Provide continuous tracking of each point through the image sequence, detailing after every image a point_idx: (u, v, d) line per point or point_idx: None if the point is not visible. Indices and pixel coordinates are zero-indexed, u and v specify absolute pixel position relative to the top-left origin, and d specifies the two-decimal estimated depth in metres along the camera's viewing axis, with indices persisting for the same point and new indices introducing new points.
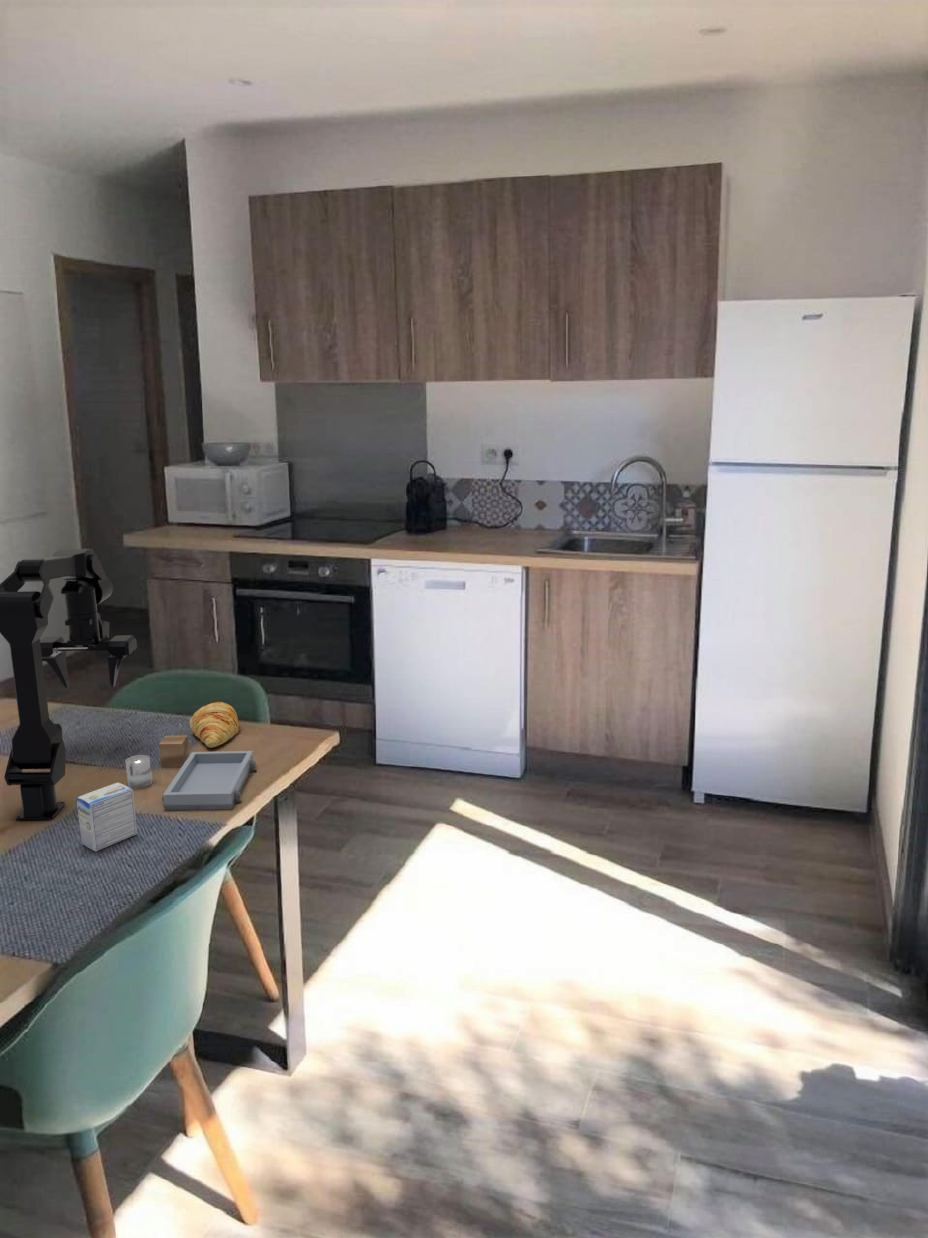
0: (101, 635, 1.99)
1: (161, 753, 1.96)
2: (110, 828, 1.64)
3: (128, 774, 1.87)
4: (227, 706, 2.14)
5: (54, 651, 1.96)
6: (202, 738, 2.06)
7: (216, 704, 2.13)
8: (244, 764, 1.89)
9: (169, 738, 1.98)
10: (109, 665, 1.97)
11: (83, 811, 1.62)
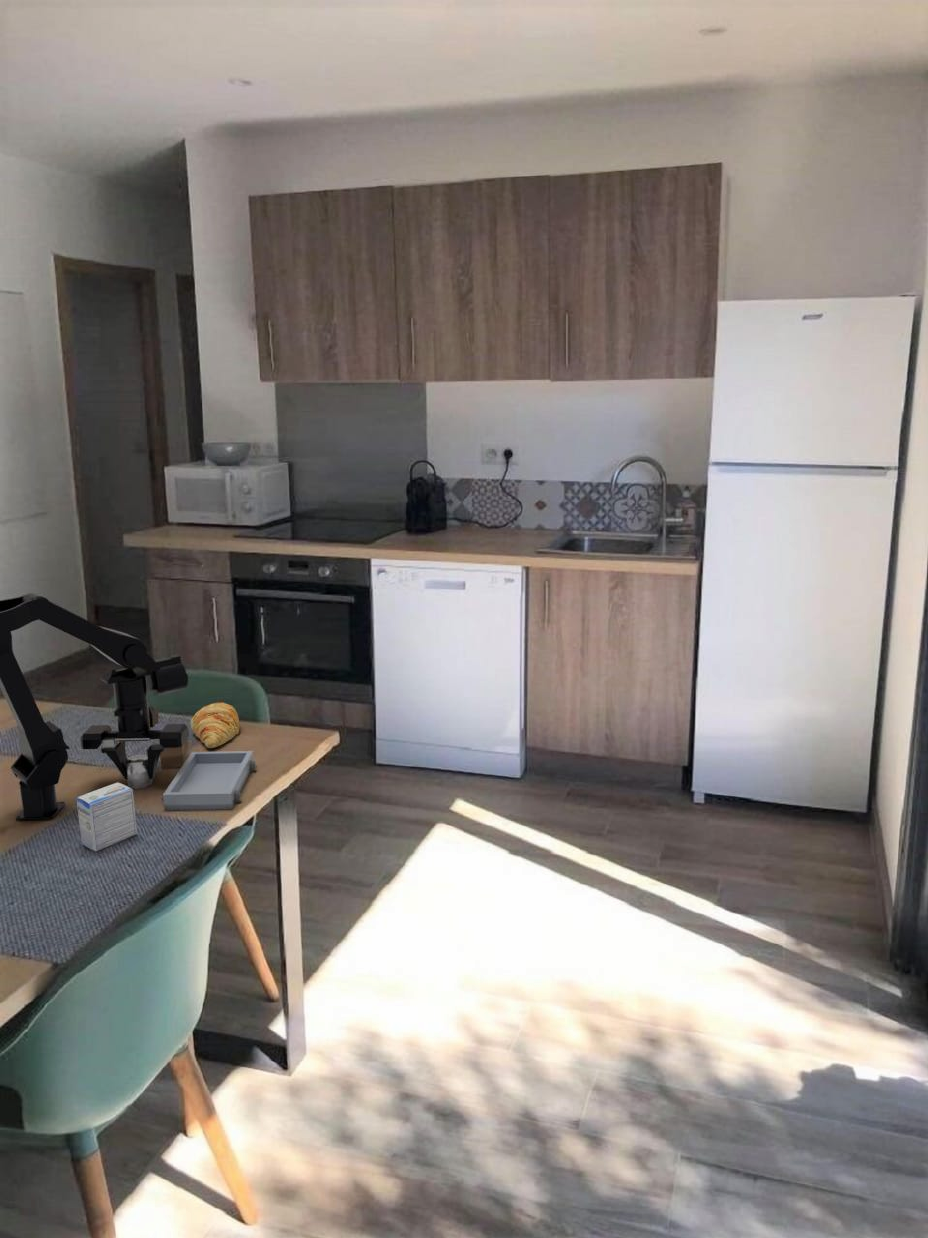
0: (151, 724, 1.88)
1: (161, 753, 1.96)
2: (110, 828, 1.64)
3: (128, 773, 1.87)
4: (228, 707, 2.14)
5: (114, 742, 1.85)
6: (202, 738, 2.06)
7: (217, 704, 2.13)
8: (244, 764, 1.89)
9: None
10: (148, 757, 1.85)
11: (82, 811, 1.62)
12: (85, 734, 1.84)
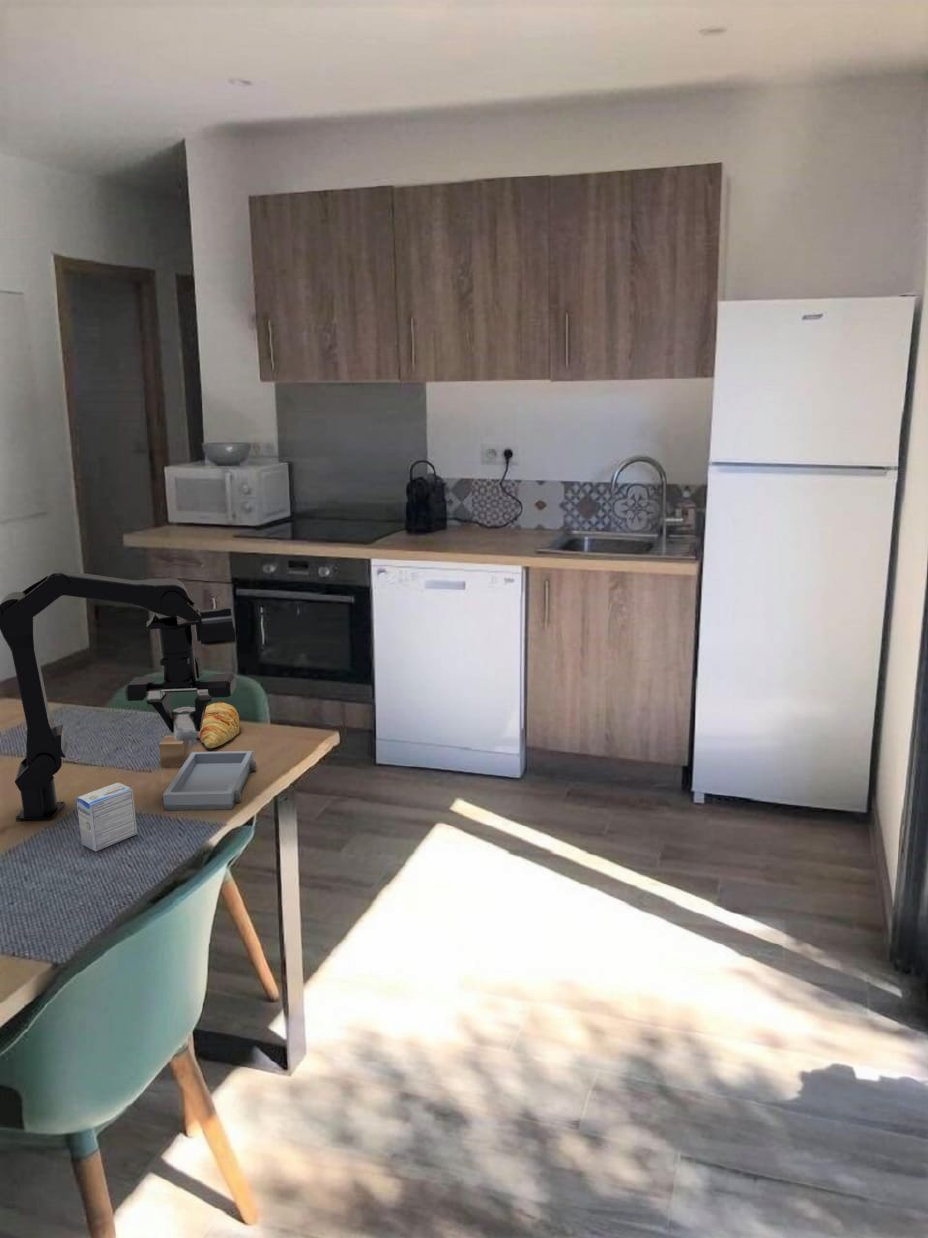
0: (197, 674, 1.81)
1: (161, 753, 1.96)
2: (110, 828, 1.64)
3: (174, 726, 1.80)
4: (229, 707, 2.14)
5: (160, 693, 1.78)
6: (202, 738, 2.06)
7: (217, 704, 2.13)
8: (244, 764, 1.89)
9: (169, 738, 1.98)
10: (196, 708, 1.78)
11: (82, 811, 1.62)
12: (130, 685, 1.77)
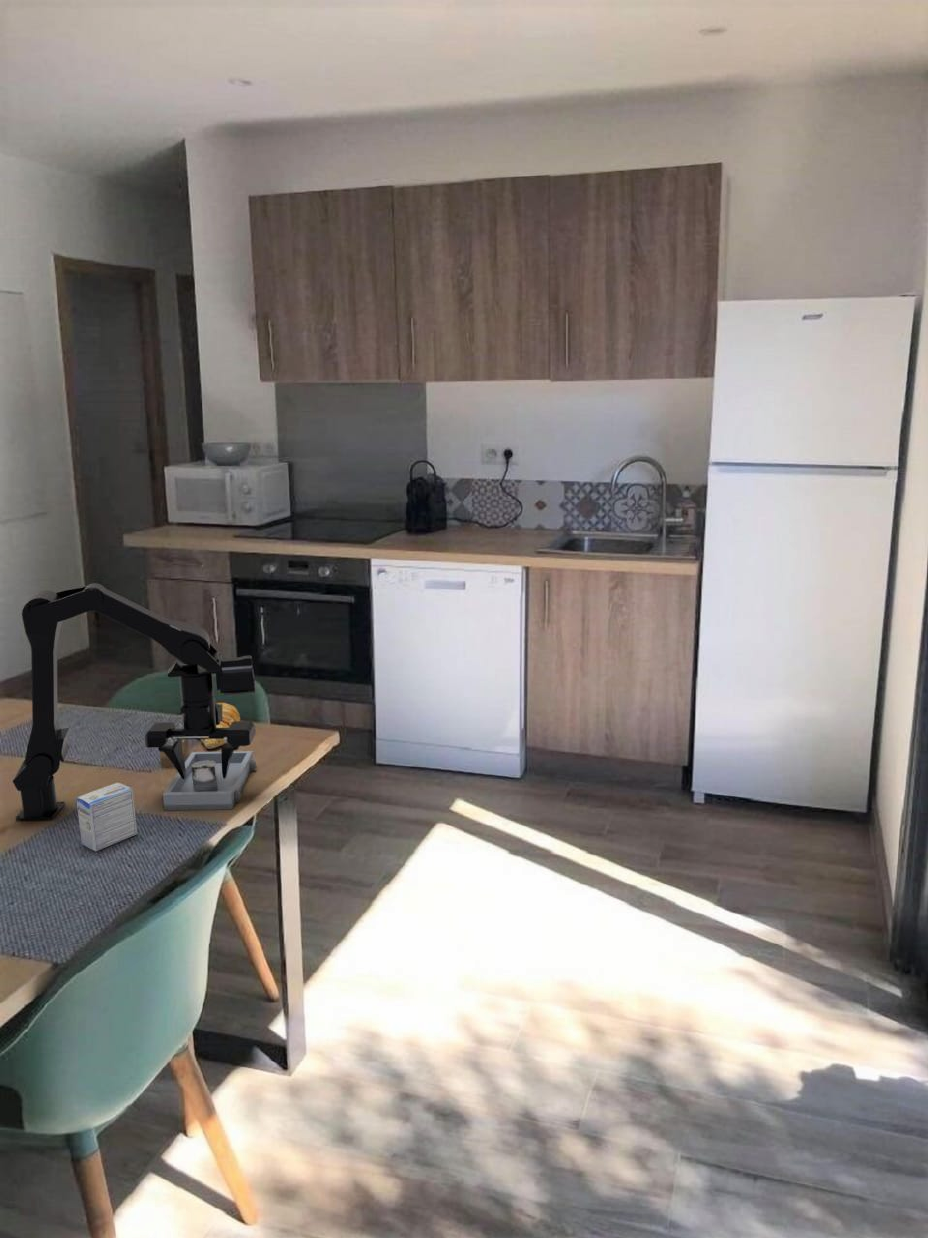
0: (217, 721, 1.81)
1: (161, 753, 1.96)
2: (110, 828, 1.64)
3: (194, 780, 1.81)
4: (230, 707, 2.13)
5: (172, 740, 1.78)
6: (202, 739, 2.06)
7: None
8: (244, 764, 1.89)
9: None
10: (222, 756, 1.78)
11: (82, 811, 1.62)
12: (150, 732, 1.77)
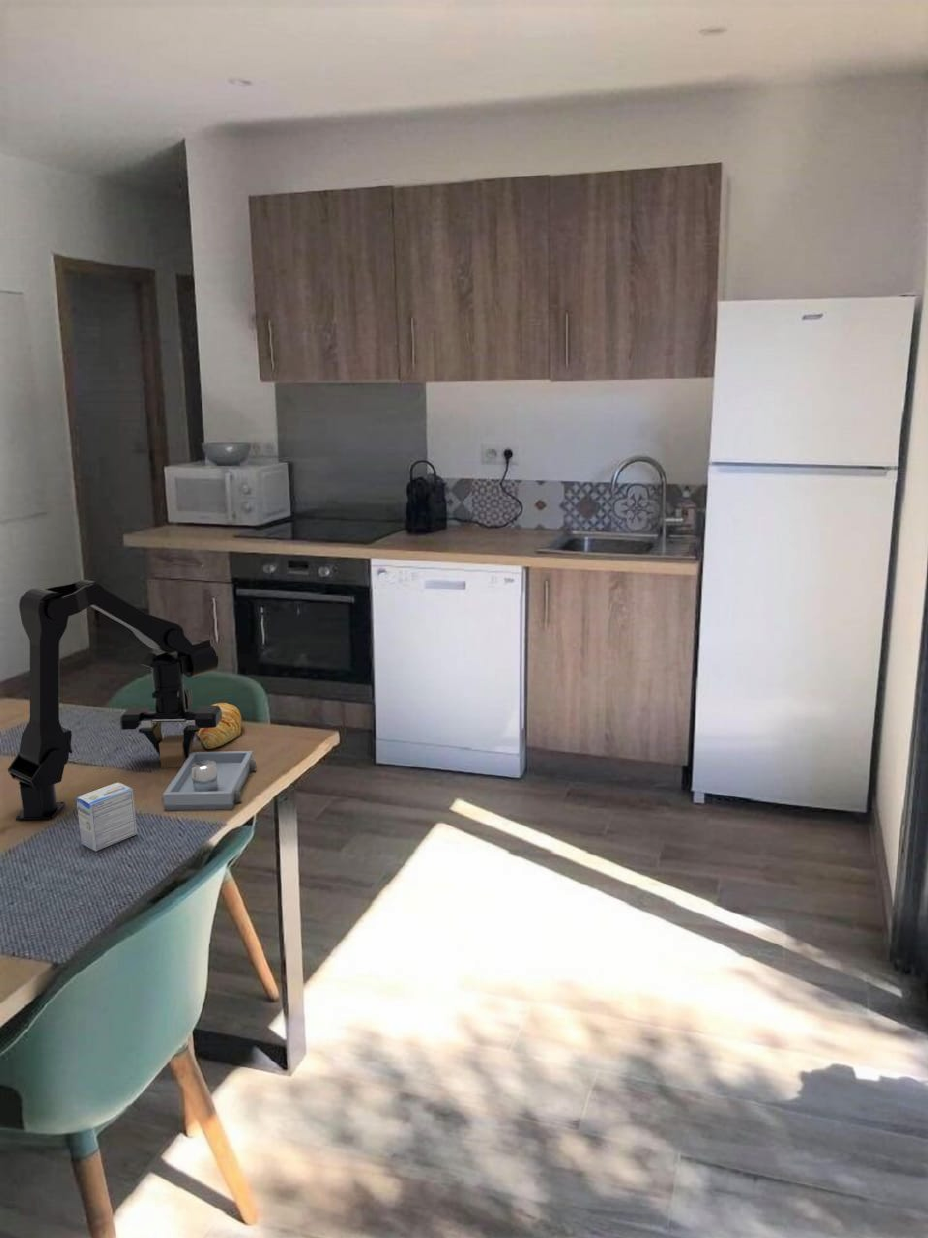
0: (186, 706, 1.97)
1: (161, 753, 1.96)
2: (110, 828, 1.64)
3: (194, 780, 1.81)
4: (231, 707, 2.13)
5: (151, 723, 1.94)
6: (201, 739, 2.06)
7: (219, 704, 2.13)
8: (244, 764, 1.89)
9: (169, 738, 1.98)
10: (184, 737, 1.95)
11: (82, 811, 1.62)
12: (124, 715, 1.93)
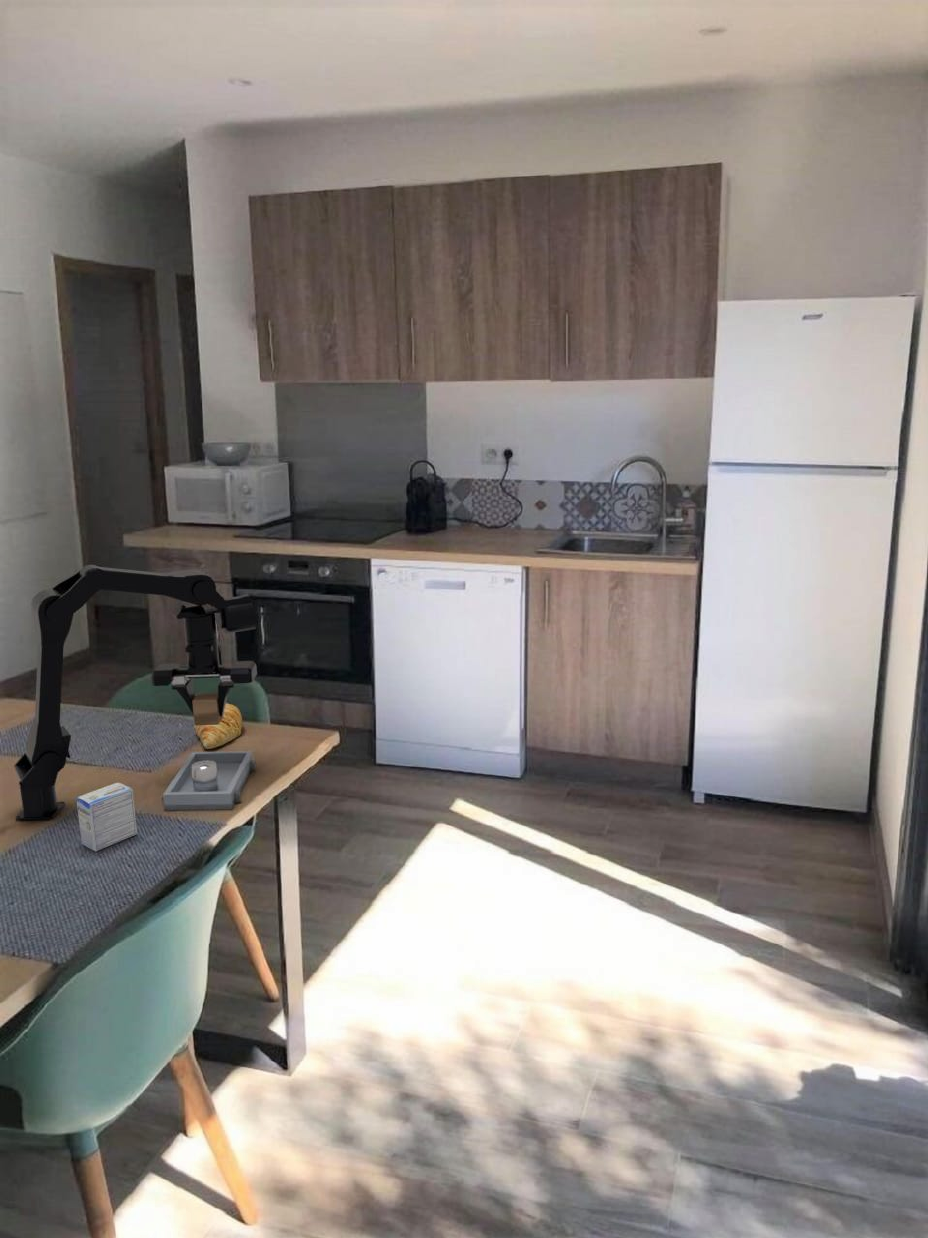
0: (220, 661, 1.90)
1: (194, 710, 1.88)
2: (110, 828, 1.64)
3: (194, 780, 1.81)
4: (231, 707, 2.13)
5: (184, 679, 1.86)
6: (201, 739, 2.06)
7: None
8: (244, 764, 1.89)
9: (203, 695, 1.90)
10: (219, 693, 1.87)
11: (82, 811, 1.62)
12: (156, 671, 1.85)
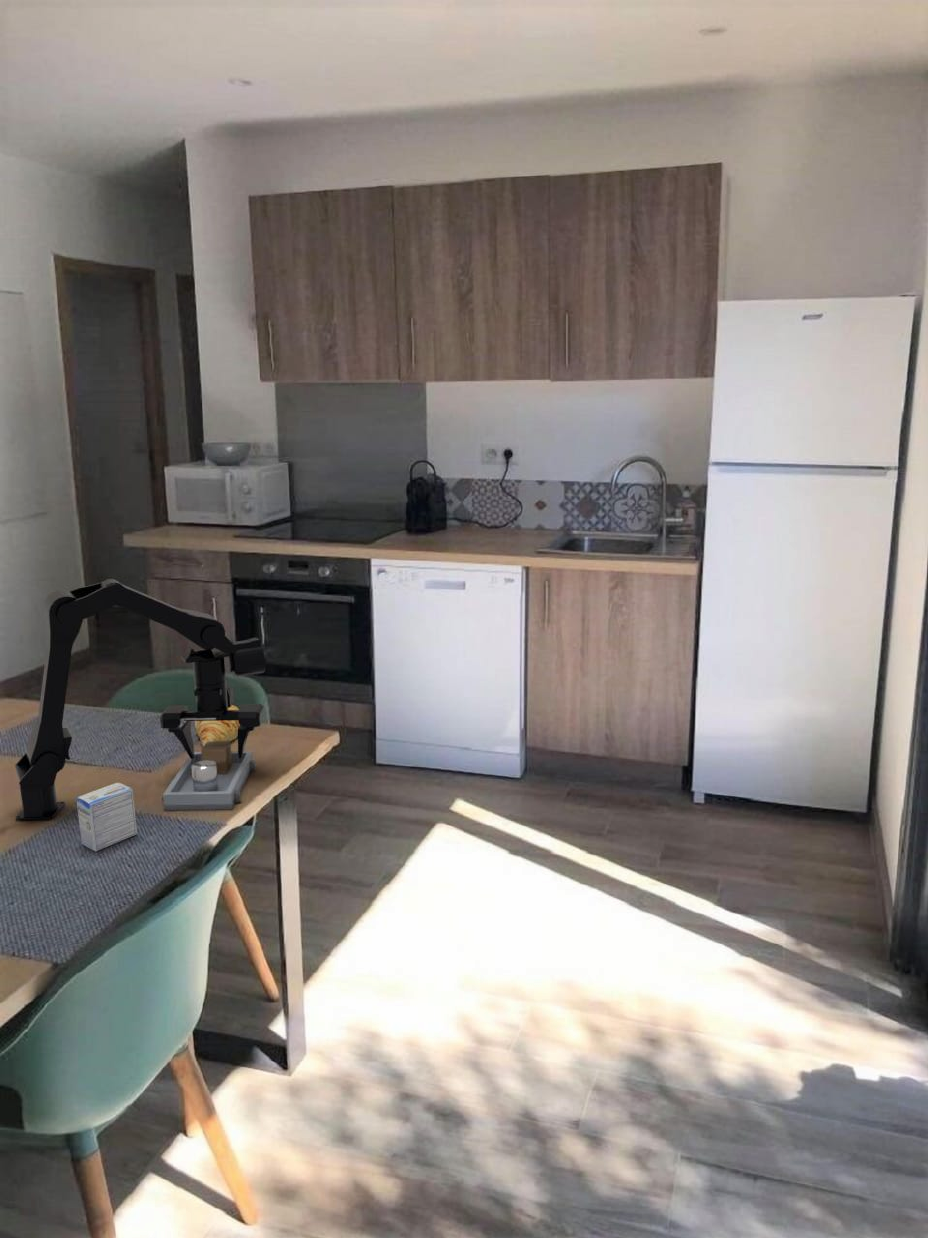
0: (228, 704, 1.91)
1: (203, 760, 1.89)
2: (110, 828, 1.64)
3: (194, 780, 1.81)
4: (232, 708, 2.13)
5: (181, 722, 1.87)
6: (201, 739, 2.06)
7: None
8: (244, 764, 1.89)
9: (211, 744, 1.91)
10: (239, 736, 1.88)
11: (82, 811, 1.62)
12: (165, 713, 1.87)
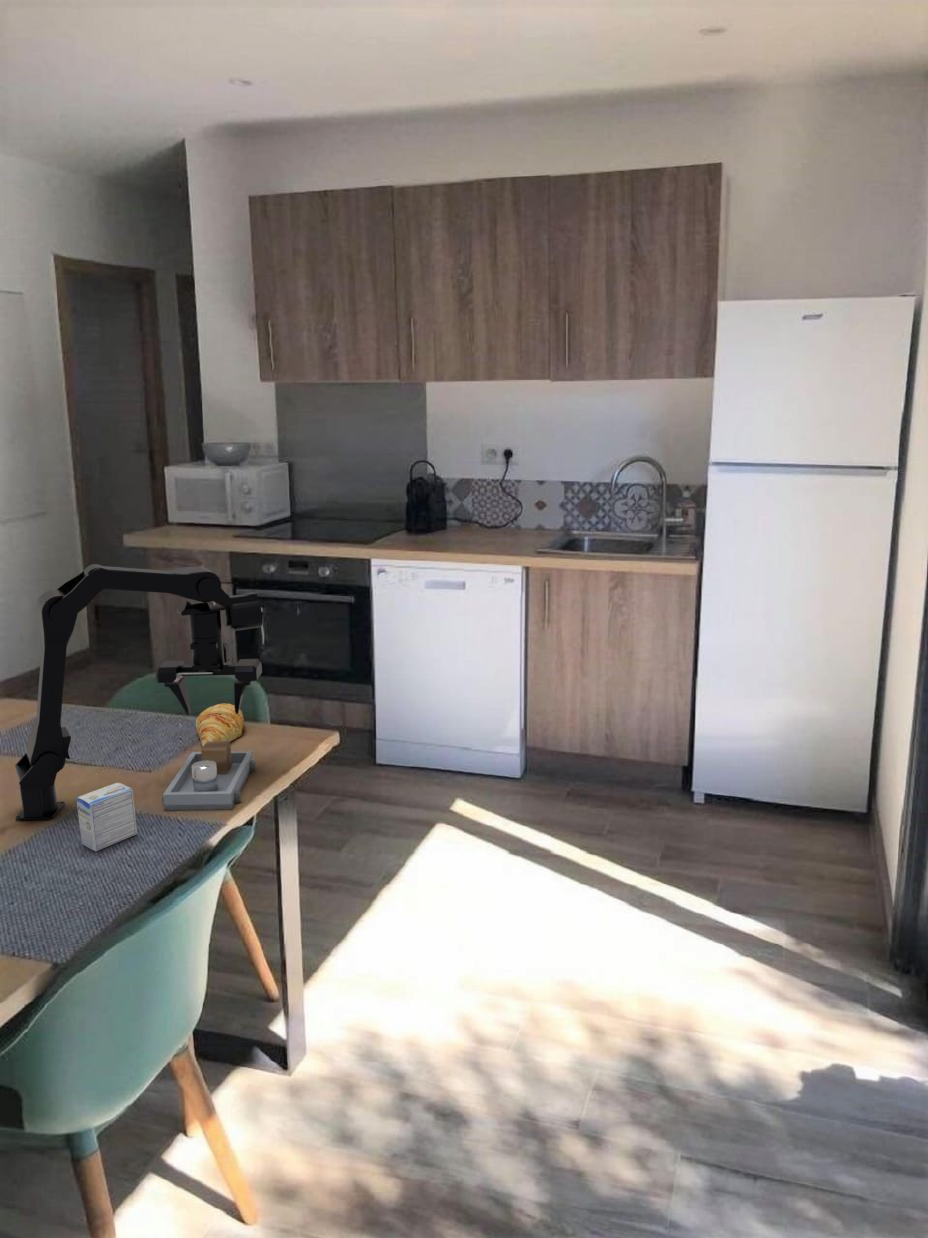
0: (225, 659, 1.88)
1: (203, 760, 1.89)
2: (110, 828, 1.64)
3: (194, 780, 1.81)
4: (233, 708, 2.13)
5: (177, 676, 1.85)
6: (201, 739, 2.06)
7: (221, 705, 2.12)
8: (244, 764, 1.89)
9: (211, 744, 1.91)
10: (235, 691, 1.85)
11: (82, 811, 1.62)
12: (160, 668, 1.84)
